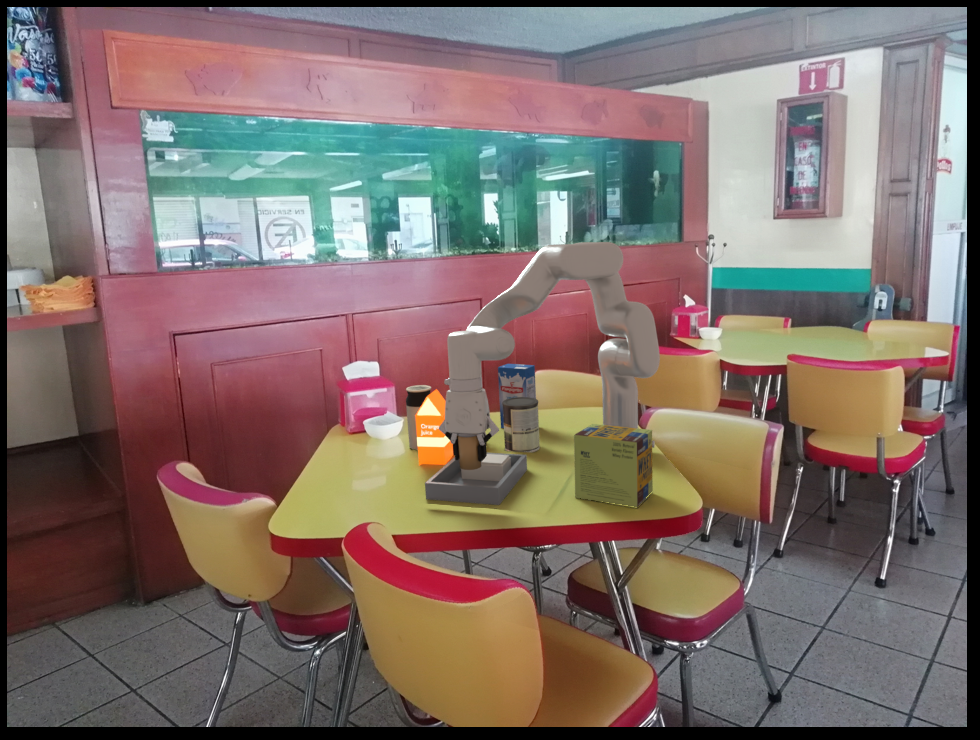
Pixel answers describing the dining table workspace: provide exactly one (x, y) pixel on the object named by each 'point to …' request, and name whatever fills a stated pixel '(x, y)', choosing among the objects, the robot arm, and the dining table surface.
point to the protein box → (613, 464)
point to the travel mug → (415, 409)
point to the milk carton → (515, 383)
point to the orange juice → (432, 431)
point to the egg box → (490, 468)
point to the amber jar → (468, 451)
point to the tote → (474, 483)
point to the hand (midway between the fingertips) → (470, 458)
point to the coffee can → (521, 424)
